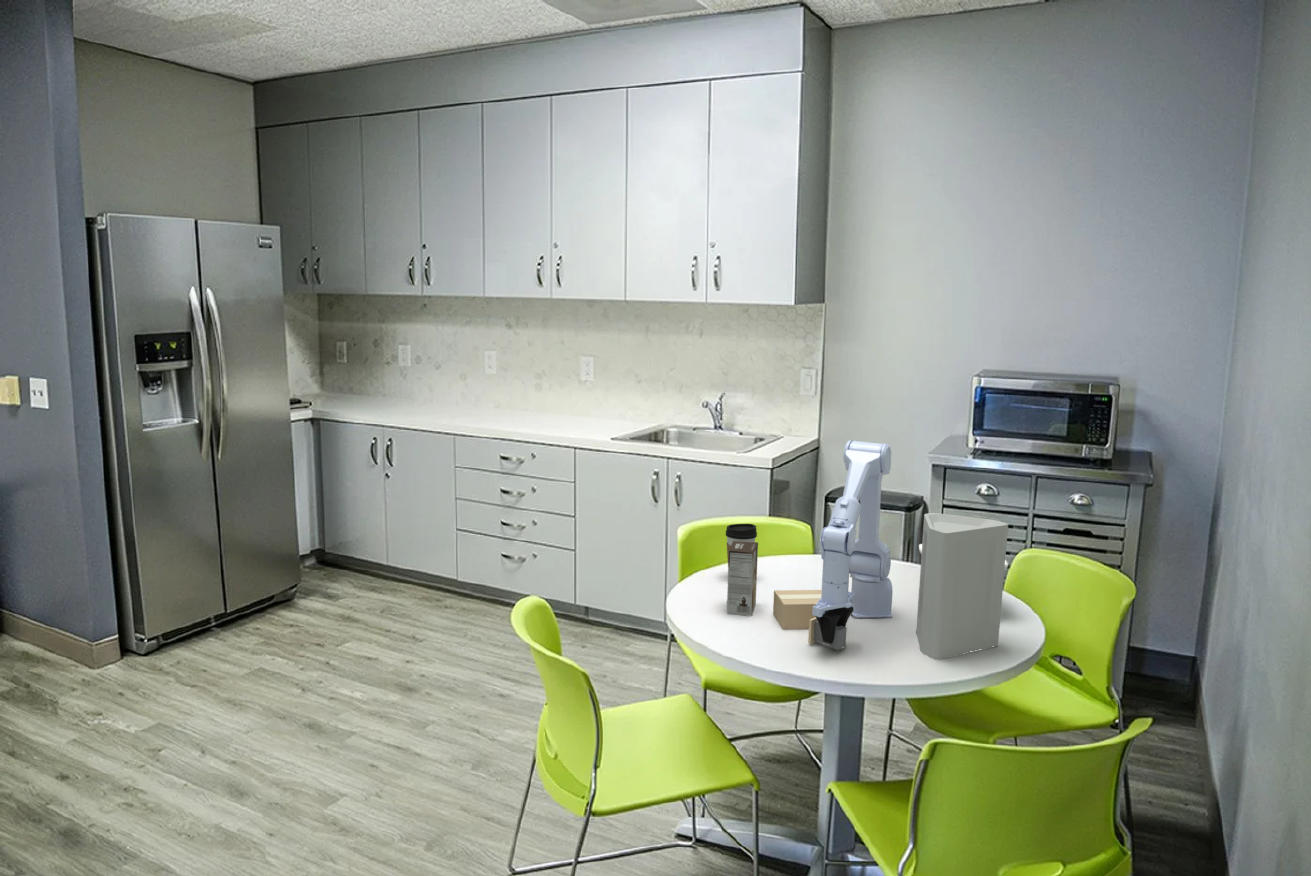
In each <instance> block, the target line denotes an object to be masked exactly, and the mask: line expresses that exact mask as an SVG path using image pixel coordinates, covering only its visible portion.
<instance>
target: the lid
mask: <svg viewBox="0 0 1311 876" xmlns="http://www.w3.org/2000/svg"><path fill="white" fill-rule="evenodd" d="M847 627H848V626H845V627H844V626H836V628H835V634H834V639H833V643H831V644H830V643H826V642H823V639H822V634H821V629H820V626H819V623H818V620H817V618H816V617H815V618H812V619H810V620H809V629H808V637H807V638H808V640H807V641H808V642H807V643H808V644H809V645H811V644H814V643H817V642H818V643H821V644H824V645H827V646H830V647H832V649H834V650H837V651H839V650H841V649H844V648H846V647H847V646H846V645H847V629H848V628H847Z"/></svg>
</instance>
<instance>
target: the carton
mask: <svg viewBox="0 0 1311 876" xmlns="http://www.w3.org/2000/svg"><path fill="white" fill-rule="evenodd" d="M821 593H822V589H790V590H789V589H782V590H781V589H780V590H776V589H775V590H774V591H773V603H772V604H773V605H772V606H773V607H772V609H773V610H772V615H773V616H774V618H775V619H776V621H777V622H778V625H780V627H781V629H782V630H809V620H810V619H812V618H815V616H814V615H812V610H813V606H815V605H816V604H817V602H818V601H819V600H820V598H821Z"/></svg>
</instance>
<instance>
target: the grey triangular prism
mask: <svg viewBox="0 0 1311 876" xmlns="http://www.w3.org/2000/svg"><path fill="white" fill-rule="evenodd" d="M922 530H923V531H922V543H921V544H922V555H920V575H919V586H918V602H917V603H918V604H917V615H916V616H917V617H916V631H915V632H916V633H915V634H916V637H917V642H918V646H919V649H920V653H921V652H922V653H921V654H923V655H925V656H928V657H929V658H931V659H932V660H937V659H938V660H943V659H947V657H948V658H952V657H956V655H957V656H961V655H964V654H963V653H966V654H968V653H967V652H970V651H975V650H979V649H984V650H986V649H985V648H988V649H991V648H990V647H992V646H997V645H998V646H999V637H1000V627H1001V625H1000V624H1001V613H1002V603H1003V592H1004V591H1003V589H1004V580H1005V579H1004V578H1005V571H1004V568H1005V560H1006V553H1007V542H1008V541H1007V540H1008V531H1009V523H1006V522H1003V521H999V520H997V519H991V518H984V517H983V518H982V517H972V516H962V515H955V514H945V513H937V512H931V513H924V515H923V528H922ZM998 646H997V647H998ZM979 651H980V650H979ZM975 652H976V651H975ZM970 653H971V652H970ZM960 654H961V655H960ZM951 656H952V657H951ZM942 658H943V659H942Z"/></svg>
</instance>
